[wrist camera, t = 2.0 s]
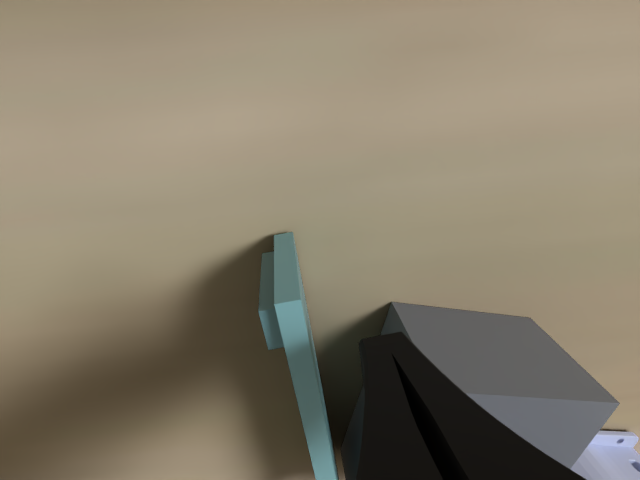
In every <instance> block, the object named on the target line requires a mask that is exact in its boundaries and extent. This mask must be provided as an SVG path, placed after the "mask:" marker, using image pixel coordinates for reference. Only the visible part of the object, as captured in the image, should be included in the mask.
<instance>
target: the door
mask: <svg viewBox="0 0 640 480" xmlns="http://www.w3.org/2000/svg"><path fill="white" fill-rule="evenodd" d="M258 312H259V316H260V320H261V324H262V327H263V331H264V335H265V339H266V343H267V346H268V350H271V349H277V348H282V347H284V348H285V352H286V356H287V360H288V365H289V369H290V373H291V377H292V381H293V386H294V390H295V394H296V398H297V402H298V407H299V411H300V415H301V419H302V423H303V428H304V432H305V436H306V440H307V445H308V449H309V453H310V457H311V461H312V466H313V470H314V474H315V478H316V480H339V477H338V471H337V465H336V459H335V453H334V447H333V442H332V437H331V432H330V426H329V421H328V416H327V410H326V405H325V400H324V395H323V389H322V384H321V379H320V373H319V368H318V363H317V358H316V352H315V347H314V342H313V336H312V331H311V326H310V321H309V315H308V310H307V305H306V299H305V294H304V289H303V284H302V278H301V273H300V268H299V262H298V257H297V252H296V247H295V241H294V236H293V232H289V233H283V234H278V235H274V251H273V252H267V253H262V261H261V277H260V293H259V308H258Z"/></svg>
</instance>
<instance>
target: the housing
mask: <svg viewBox="0 0 640 480" xmlns="http://www.w3.org/2000/svg"><path fill="white" fill-rule="evenodd" d="M396 332H403V333H404V334H405V335H406V336H407V337H408V338H409V339H410V340H411V341H412V342H413V344H414V345H415V346H416V347H417V348H418V349H419V350H420V351H421V352H422V353H423V354H424V355H425V356H426V357H427V358H428V359H429V360H430V361H431V362H432V363H433V364H434V365H435V366H436V367H437V368H438V369H439V370H440V371H441V372H442V373H443V374H445V375H446V376H447V377H448V378H449V379H450V380H451V381H452V382H453V383H454V384H455V385H456V386H458V387H459V388H460V389H461V390H462V391H463V392H464V393H466V394H467V395H468V396H469V397H470V398H471V399H473V400H474V401H475V402H476V403H477V404H479V405H480V406H481V407H482V408H484V409H485V410H486V411H487V412H489V413H490V414H491V415H492V416H494V417H495V418H496V419H497V420H499V421H500V422H501V423H503V424H504V425H505V426H507V427H508V428H510V429H511V430H512V431H514V432H515V433H516V434H518V435H519V436H521V437H522V438H523V439H525V440H526V441H528V442H529V443H531V444H532V445H533V446H535V447H536V448H538V449H539V450H541V451H542V452H544V453H545V454H547V455H548V456H550V457H552V458H553V459H555V460H556V461H558V462H560V463H561V464H563V465H564V466H566V467H568V468H569V469H571V467H572V466H573V465H574V464H575V462H576V461H577V460H578V458H579V457H580V456H581V454H582V453H583V452H584V450H585V449H586V448H587V446H588V445H589V444H590V442H591V441H592V440H593V438H594V437H595V436H596V434H597V433H598V432H599V430H600V429H601V428H602V426H603V425H604V424H605V422H606V421H607V420H608V418H609V417H610V416H611V414H612V413H613V412H614V410H615V409H616V408H617V406H618V405H619V404H620V403H619V402H618V401H617V400H616V399H615V398H614V397H613V396H612V395H611V394H610V393H609V392H608V391H607V390H605V389H604V388H603V387H602V386H601V385H600V384H599V383H598V382H597V381H596V380H595V379H594V378H593V377H592V376H591V375H590V374H589V373H588V372H587V371H586V370H585V369H583V368H582V367H581V366H580V365H579V364H578V363H577V362H576V361H575V360H574V359H573V358H572V357H571V356H570V355H569V354H568V353H567V352H566V351H565V350H564V349H562V348H561V347H560V346H559V345H558V344H557V343H556V342H555V341H554V340H553V339H552V338H551V337H550V336H549V335H548V334H547V333H546V332H545V331H544V330H543V329H541V328H540V327H539V326H538V325H537V324H536V323H535V322H534V321H533V320H532V319H531V318H527V317H518V316H509V315H501V314H492V313H483V312H474V311H466V310H457V309H448V308H440V307H431V306H422V305H414V304H405V303H396V302H392V303H391V305H390V308H389V311H388V314H387V317H386V320H385V323H384V326H383V329H382V331H381V334H380V335H385V334H391V333H396ZM364 400H365V389H364V385H363V386H362V389H361V392H360V395H359V398H358V401H357V403H356V406H355V409H354V412H353V415H352V418H351V421H350V424H349V427H348V429H347V432H346V435H345V438H344V441H343V444H342V447H341V456H342V461H343V467H344V473H345V478H346V480H356V476H357V471H358V464H359V457H360V449H361V441H362V431H363V417H364Z"/></svg>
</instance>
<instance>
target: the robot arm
mask: <svg viewBox="0 0 640 480" xmlns="http://www.w3.org/2000/svg"><path fill="white" fill-rule="evenodd" d="M359 351H360V359H361V368H362V376H363V385H364V389H365V400H364V417H363V431H362V441H361V449H360V457H359V464H358V471H357V476H356V480H640V455H639V454H638V453H637V451H636V450H635V449H634V448H633V447H634V446H635V444H636V443H637V442H638V439H639V438H638V437H637V436H636V435H635V434H634V433H633V432H622V431H600V430H599V432H598V433H597V434H596V436H595V437H594V438H593V440H592V441H591V442H590V444H589V445H588V446H587V448H586V449H585V450H584V452H583V453H582V454H581V456H580V457H579V458H578V460H577V461H576V462H575V464H574V465H573V466H572V467H571V469H569V468H568V467H566V466H564V465H563V464H561V463H560V462H558V461H556V460H555V459H553V458H552V457H550V456H548V455H547V454H545V453H544V452H542V451H541V450H539V449H538V448H536V447H535V446H533V445H532V444H531V443H529V442H528V441H526V440H525V439H523V438H522V437H521V436H519V435H518V434H516V433H515V432H514V431H512V430H511V429H510V428H508V427H507V426H505V425H504V424H503V423H501V422H500V421H499V420H497V419H496V418H495V417H494V416H492V415H491V414H490V413H489V412H487V411H486V410H485V409H484V408H482V407H481V406H480V405H479V404H477V403H476V402H475V401H474V400H473V399H471V398H470V397H469V396H468V395H467V394H466V393H464V392H463V391H462V390H461V389H460V388H459V387H458V386H456V385H455V384H454V383H453V382H452V381H451V380H450V379H449V378H448V377H447V376H446V375H445V374H443V373H442V372H441V371H440V370H439V369H438V368H437V367H436V366H435V365H434V364H433V363H432V362H431V361H430V360H429V359H428V358H427V357H426V356H425V355H424V354H423V353H422V352H421V351H420V350H419V349H418V348H417V347H416V346H415V345H414V344H413V342H412V341H411V340H410V339H409V338H408V337H407V336H406V335H405V334H404V333H403V332H396V333H391V334H385V335H380V336H375V337H370V338H365V339H362V340H361V341H360V342H359Z"/></svg>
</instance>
